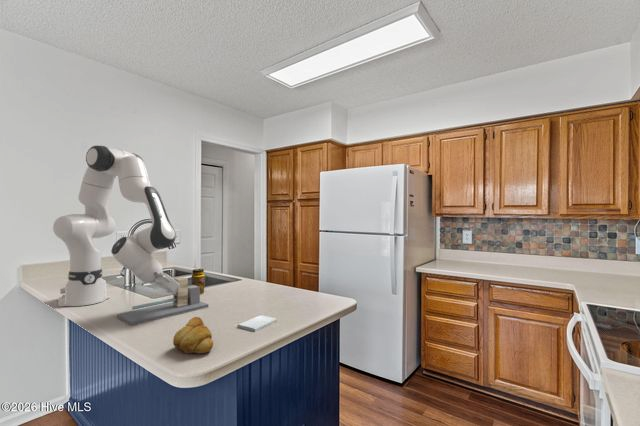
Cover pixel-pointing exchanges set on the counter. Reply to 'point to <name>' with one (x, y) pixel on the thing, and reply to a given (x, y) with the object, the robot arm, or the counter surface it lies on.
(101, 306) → the counter surface
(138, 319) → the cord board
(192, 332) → the bread roll
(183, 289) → the notched wooden block
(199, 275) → the condiment
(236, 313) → the counter surface
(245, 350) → the counter surface
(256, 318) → the hard drive
